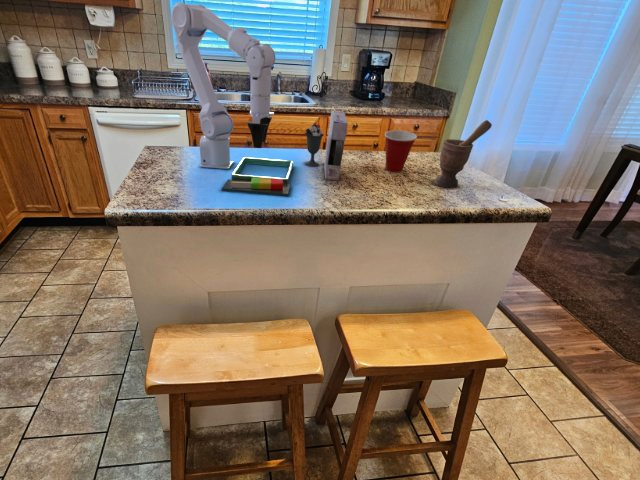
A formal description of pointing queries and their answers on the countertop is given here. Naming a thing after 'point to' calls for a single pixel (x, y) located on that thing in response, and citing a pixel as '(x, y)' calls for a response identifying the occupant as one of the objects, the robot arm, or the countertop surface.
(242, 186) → the slate board
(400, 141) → the plastic cup
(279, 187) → the popsicle
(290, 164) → the baking frame
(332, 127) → the cake pan box
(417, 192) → the countertop surface
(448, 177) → the mortar and pestle
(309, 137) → the sundae
